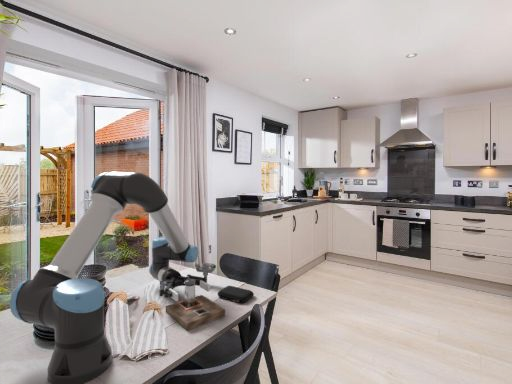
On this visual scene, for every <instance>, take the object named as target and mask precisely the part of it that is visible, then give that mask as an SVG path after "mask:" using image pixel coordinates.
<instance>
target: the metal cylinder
mask: <svg viewBox="0 0 512 384" xmlns="http://www.w3.org/2000/svg"><path fill="white" fill-rule="evenodd" d="M184 283H185V286H184V300H185V308H190V307H193V306H195V297H196V285H195V279H186V280H185V282H184Z"/></svg>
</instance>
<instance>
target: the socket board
mask: <svg viewBox="0 0 512 384" xmlns="http://www.w3.org/2000/svg"><path fill="white" fill-rule="evenodd" d="M165 313H166V314H167V315H168V316H169V317H170V318H171V319H173V321H175V322H176V323H177V324H178V325H179V326H181V327H182V328H183V329H184V330H185V331H189V330H192V329H195V328H197V327H200V326H203V325H205V324H208V323H211V322H214V321H216V320H218V319H221V318H224V317H225V316H226V309H225V308H223V307H222V306H220V305H218V304H217V303H215V302H214V301H212V300H211V299H209V298H207V297H206V296H204V295H202V294H201V295H197V296H195V306H193V307H190V308H185V299H184V300H181V301H176V302H175V303H172V304H168V305H165Z"/></svg>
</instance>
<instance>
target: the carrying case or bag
mask: <svg viewBox="0 0 512 384" xmlns="http://www.w3.org/2000/svg"><path fill="white" fill-rule="evenodd" d="M254 295H255V294H254V292H253V291H252V290H249V289H244V288H241V287H237V286H232V285H227V286H225V287H223V288H222V289H220V290H219V291H217V296H218V298H220V299H225V300H229V301H231V302H234V303H241V304H245V303H247V302H248V301H249V300H251V299H252V298H253V297H254ZM250 298H251V299H250Z"/></svg>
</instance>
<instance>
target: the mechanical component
mask: <svg viewBox="0 0 512 384" xmlns="http://www.w3.org/2000/svg"><path fill="white" fill-rule="evenodd" d="M194 267H195V269H196V270H195V271H196V272H198V273H202V277H203V278H206V283H207V284H208V275H209V274H211V273H213V272H214V271H215V269H216V268H217V265H216V263H209V262H203V263H202V264H201V265H200V263H199V262H197V263H195V264H194Z"/></svg>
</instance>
